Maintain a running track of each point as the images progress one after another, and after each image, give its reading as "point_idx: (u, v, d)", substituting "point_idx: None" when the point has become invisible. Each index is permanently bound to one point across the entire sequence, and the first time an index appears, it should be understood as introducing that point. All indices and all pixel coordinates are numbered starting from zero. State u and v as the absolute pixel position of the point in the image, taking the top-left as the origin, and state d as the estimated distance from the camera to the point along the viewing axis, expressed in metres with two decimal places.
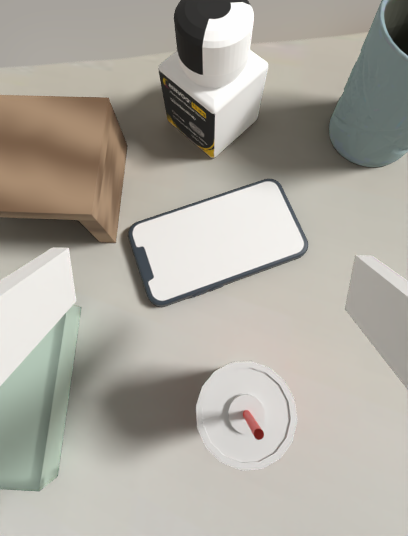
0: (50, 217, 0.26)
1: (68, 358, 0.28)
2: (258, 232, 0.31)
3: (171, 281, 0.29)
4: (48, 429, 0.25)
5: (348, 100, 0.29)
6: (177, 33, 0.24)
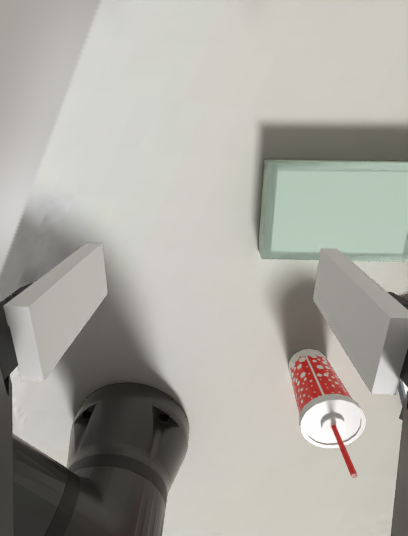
0: None
1: None
2: None
3: None
4: (305, 259, 0.31)
5: None
6: None
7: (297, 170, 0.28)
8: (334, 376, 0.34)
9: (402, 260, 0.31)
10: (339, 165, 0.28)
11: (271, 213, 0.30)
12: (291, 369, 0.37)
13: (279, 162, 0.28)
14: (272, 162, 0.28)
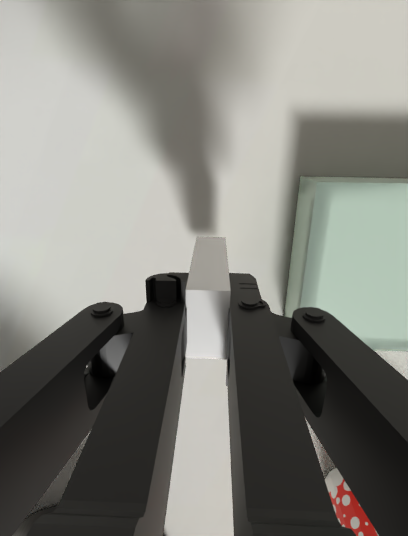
0: None
1: None
2: None
3: None
4: None
5: None
6: None
7: (368, 199, 0.15)
8: None
9: None
10: None
11: (316, 275, 0.16)
12: (330, 497, 0.24)
13: (335, 184, 0.15)
14: (322, 184, 0.15)
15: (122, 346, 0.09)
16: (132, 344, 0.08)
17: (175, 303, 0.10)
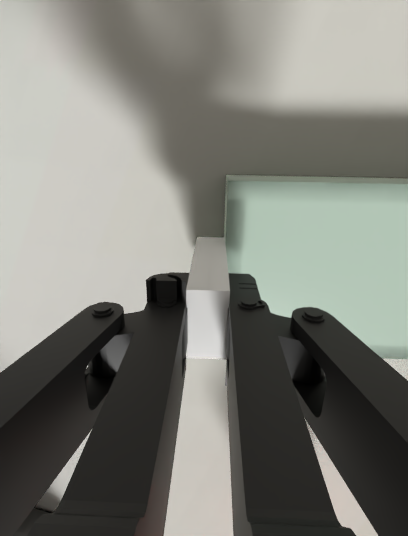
0: None
1: None
2: None
3: None
4: None
5: None
6: None
7: (283, 199, 0.14)
8: None
9: None
10: (366, 189, 0.14)
11: None
12: None
13: (247, 183, 0.14)
14: (233, 183, 0.14)
15: (123, 346, 0.09)
16: (133, 344, 0.08)
17: (176, 303, 0.10)
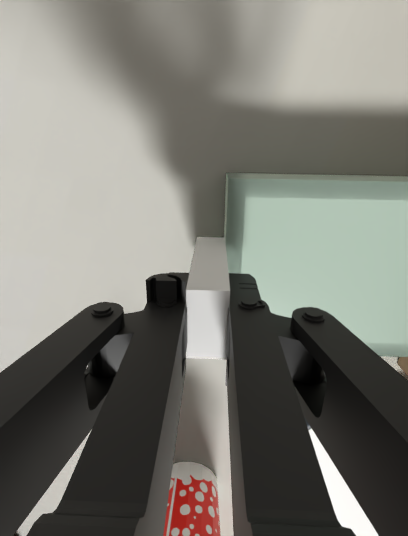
0: None
1: None
2: None
3: None
4: None
5: None
6: None
7: (283, 197, 0.14)
8: (202, 532, 0.20)
9: None
10: (366, 187, 0.14)
11: None
12: None
13: (247, 181, 0.14)
14: (234, 181, 0.14)
15: (122, 346, 0.09)
16: (132, 344, 0.08)
17: (175, 303, 0.10)
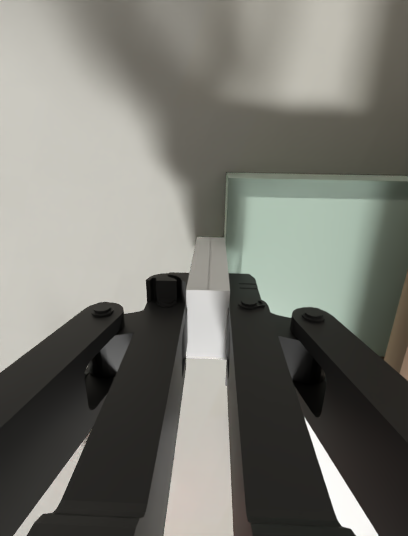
0: None
1: None
2: None
3: None
4: None
5: None
6: None
7: (283, 196, 0.14)
8: None
9: None
10: (366, 186, 0.14)
11: None
12: None
13: (248, 181, 0.14)
14: (234, 180, 0.14)
15: (123, 346, 0.09)
16: (132, 344, 0.08)
17: (175, 303, 0.10)
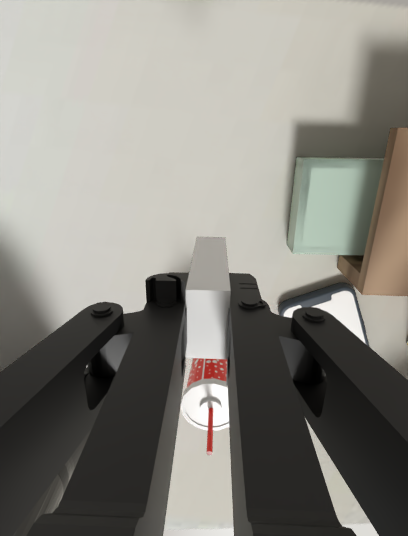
0: (366, 253, 0.29)
1: None
2: None
3: None
4: (334, 254, 0.32)
5: None
6: None
7: (330, 167, 0.29)
8: (223, 363, 0.35)
9: None
10: (371, 162, 0.29)
11: (304, 209, 0.30)
12: None
13: (313, 160, 0.29)
14: (306, 160, 0.29)
15: (122, 346, 0.09)
16: (132, 344, 0.08)
17: (175, 303, 0.10)
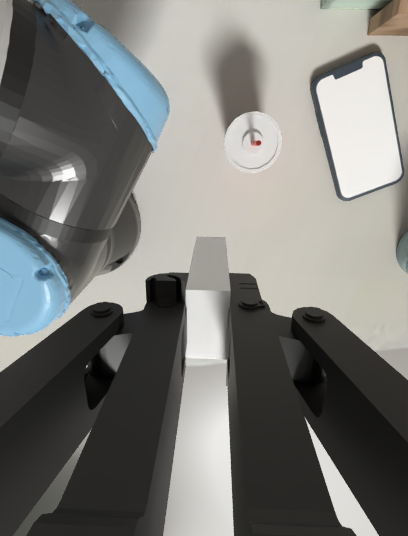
0: None
1: None
2: (360, 164, 0.42)
3: (330, 95, 0.39)
4: None
5: None
6: None
7: None
8: None
9: None
10: None
11: None
12: None
13: None
14: None
15: (122, 346, 0.09)
16: (132, 344, 0.08)
17: (175, 303, 0.10)
